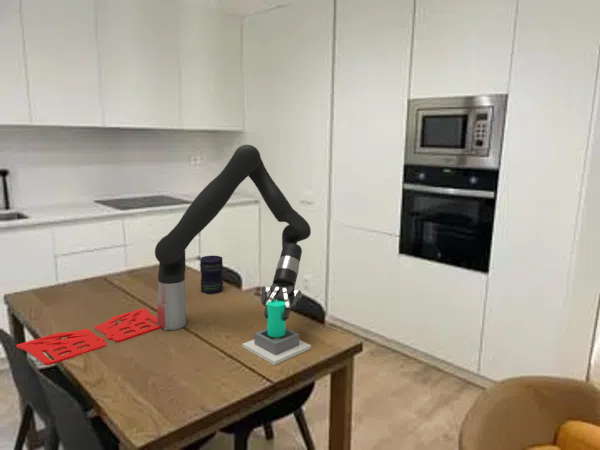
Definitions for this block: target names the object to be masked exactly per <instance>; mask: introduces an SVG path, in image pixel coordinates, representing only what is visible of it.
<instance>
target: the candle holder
mask: <svg viewBox="0 0 600 450" xmlns="http://www.w3.org/2000/svg"><path fill="white" fill-rule="evenodd" d="M253 334H254V335H253V336H254V337H253V338H254V339H251V340H248V341H247V342H243V343H242V346H241V347H242V348H243V349H245V350H247V351H249V352H250V353H252V354H254V355H256V356H258V357H259V358H261V359H262V360H265V361H266V362H268V363H269V364H271V365H272V366H276V365H278V364H280V363H282V362H285V361H287V360H289V359H291V358H293V357H295V356H298V355H300V354H302V353H304V352H307V351H310V350H312V345H311V344H309V343H307V342H305V341H303V340H301V339H300V334H299V333H297V332H296V331H293V330H291V329H289V328H286V334H285V335H284V336H281V337H271V336H269V335H268V334H267V328H265V329H263V330H260V331H257V332H254V333H253Z"/></svg>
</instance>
